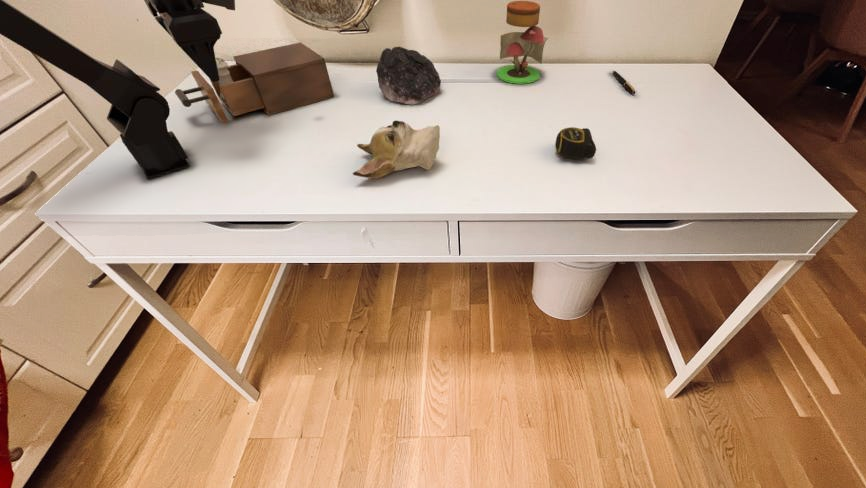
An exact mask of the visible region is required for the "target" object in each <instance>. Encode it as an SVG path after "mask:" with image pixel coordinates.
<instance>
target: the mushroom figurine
mask: <svg viewBox="0 0 866 488" xmlns="http://www.w3.org/2000/svg"><path fill="white" fill-rule="evenodd" d="M540 13H541V5H540V4H539V3H537V2H534V1H531V0H515V1H514V0H513V1H510V2H509V3H507V5H506V20H505V21H506V22H505V23H506V24H507V25H510V26H512V27H518V28H527V29H526V30H525V31H512V32H511V31H510V32H507V33H504V34H501V35H500V50H499V60H503V59H507V58H513V60H511V59H510V60H509V59H508V61H511V62H512V64H510V65H508V64H507V65H504V66H502V67H501V66H500V68H498V69H497V71H496V76H497V78H498V79H499V80H501V81H503V82H506V83H510V84H517V85H521V84H522V85H524V84H531V83H534V82H536V81H538V80H539V78H540V71H539V70H538V69H536V68H534V67H532V66H529V64H528V63H529V62H527V59H528V57H529V58H531V59H533V60H534V61H536V62H538V63H540V64H543V56H544V55H543V54H544V48H545V45H546V42H547V41H548V40H549V39H550V38H549V37H546V36H544V32H543V29H542V28H541V27H539V26H537V25H538V24H539V22H540ZM519 57H522V60H521V62H520V60H519Z"/></svg>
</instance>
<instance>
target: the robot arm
mask: <svg viewBox="0 0 866 488" xmlns="http://www.w3.org/2000/svg"><path fill="white" fill-rule="evenodd" d="M143 1H144V3H145V4H146V7H147V9H148V11H149V12H150V14H151V15H152V16H153V18H154V20H155V21H156V22H157V23H158V24H159V25H160V26H161V27H162V29H164V31H165V32H166V33H167V34H168V35H169V36H170V37H171V38H172V40H173V41H174V43H175V44H176V45H177V46H178V47H179V48H180V49H181V50H182V51H183V52H184V53H185V54H186V55H187V56H188V57H189V59H190V60H191V61H192V62H193V63H194V64H195V65H196V66H197V67H198V68H199V69H200V70H201V72H203V74H204V75H206V76H207V78H208V79H209V78H210V79H211V81H213V82H216V81H219V80H220V79H219V74H218V69H217V64H216V60H217V59H216V54H215V45H216V43H217V42H218V40H220V39H221V35H223V31H222V29H221V26H220V25H219V24H220V23H219V21H218V20H217V18H216V17H214V16H213V15H212V14H211V13H209V12H208V11H206V10H205V9H203V8H205V5H204V4H208V5H212V6H216V7H221V8H225V9H227V10H229V11H236V0H143ZM0 35H1V36H3V37H4V38H6V39H8V40H9V41H11V42H13V43H15V44H16V45H18V46H20V47H22V49H25V50H27V51H28V52H30V53H32V54H34V55H35V56H37V57H38V58H40V59H42V60H44V61H46V62H47V63H49V64H50V65H52V66H54V67H56V68H57V69H59V70H61V71H63V72H64V73H66V74H68V75H69V76H71V77H72V78H74V79H76V80H78V81H80V82H81V83H83V84H85V85H86V86H88V87H89V88H90V89H92V90H93V91H94V92H95V93H97V94H98V95H99V96H100V97H102V98H103V99H104V100H105V101H107V102H108V103H109V104H110V108H109V110H108V113H107V116H106V120H107V121H108V123H110V124H111V125H112V126H113V127H114V128H115V129H116V130H117V131H118V132H119V133H120V134H119V137H120V139H121V142H122V143H123V145H124V146H125V147H126V149H127V150H128V152H129V153H130V154H131V156H132V157H133V159H134V160H135V161H136V163H137V165H139V167H140V169H141V170H142V173H143V175H144V177H145V178H146V179H147V180H152V179H155V178H158V177H161V176H165V175H167V174H171V173H174V172H177V171H180V170H183V169H187V168H189V167H190V164H189V162H188V159H189V156H188V154H187V152H186V150H185V149H184V148H183V146H182V145H181V143H180V141H179V140H178V138H177V136H176V134H175V133H174V131H172V130H170V131H168V125H167V120H168V118H169V116H170V112H171V109H170V105H169V102H168V101H167V99H166V98H165V97H164V96H163V95H162V94H161V93H160V91H161V88H160V87H158V86H157V85H156V84H155V83H153V82H152V81H150V80H149V79H148V78H146V77H145V76H143V75H139V74H137V73H136V72H134V71H133V70H132V69H131V68H130V67H128V66H127V65H125V64H124V63H123V62H122V61H120V60H119V59H115V60H114V63H113V65H110V64H107V63H105V62H104V61H103V62H102V61H100V60H98V59H96V58H94V57H93V56H91V55H90V54H88V53H86V52H85V51H83V50H82V49H80V48H79V47H77V46H76V45H74V44H72V43H71V42H69V41H68V40H66V39H65V38H64V37H62V36H60V35H58V34H57V33H56V32H54V31H52V30H51V29H49V28H47V27H46V26H44V25H43V24H41V23H40V22H38V21H36V20H35V19H34V18H32V17H31V16H29V15H27V14H25V13H24V12H22V11H21V10H20V9H18V8H17V7H15V6H14V5H12V4H10V3H8V2H7V1H5V0H0ZM210 79H209V80H210ZM211 81H210V82H211Z"/></svg>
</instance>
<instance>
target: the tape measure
mask: <svg viewBox="0 0 866 488" xmlns="http://www.w3.org/2000/svg"><path fill="white" fill-rule="evenodd" d="M554 143H555V149H556V152H557V153H558V154H559V155H560V156H562V157H564V158H566V159H570V160H583V159H592V158H594V157H595V155H596V151H597V147H596V144H595V142H594V139H593V136H592V133H591V130H590V128H588V127H587V128H584V127H583V128H579V127H573V126H571V127H566V128H563V129H561V130H560V131H559V132H558V134H557V135H556V139H555V142H554Z"/></svg>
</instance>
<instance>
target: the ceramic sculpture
mask: <svg viewBox="0 0 866 488" xmlns="http://www.w3.org/2000/svg"><path fill="white" fill-rule="evenodd" d="M440 133H441V128H440V125H433V126H432V125H431V126H426V127H424V128H421V129H414V128H412V127H411V125H410V124H409V123H407V122H405V121H403V120H394V121H392V123H391V124H390V125H387V126H381V127H379V128H378V129H377V130H376V131H375V132H374V133H373V134H372V137H371V139H370V143H368V144H365V143H358V144H357V143H356V146H357V148H358V149H360V150H362V151H363V152H364V153H367V154H369V155H370V156H372V157H373V158H372V159H370V160H369V161H367V162H365V163H364V164H363V165H362V166H361V168H360V169H358V170H356V171H354V172H352V175H353V176H357V177H361V178H367V179H380V178H382V177H384V176H386V175H388V174H390V173H392V172H398V171H402V170H406V169H411V168H414V167H420V168H423V169H424V170H427V171H429V170H431V168H432V167H433V165H434V163H435V161H436V157H437V154H438V152H439V150H440V138H441V135H440Z"/></svg>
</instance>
